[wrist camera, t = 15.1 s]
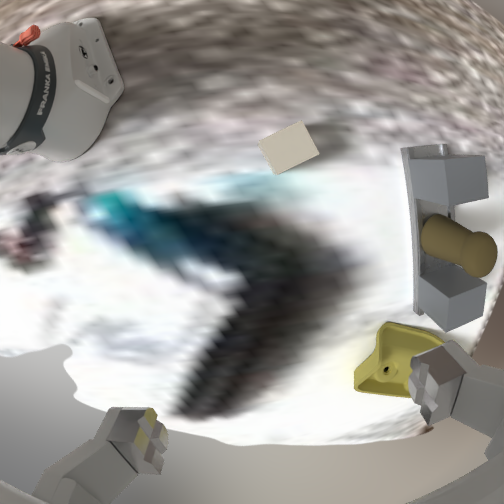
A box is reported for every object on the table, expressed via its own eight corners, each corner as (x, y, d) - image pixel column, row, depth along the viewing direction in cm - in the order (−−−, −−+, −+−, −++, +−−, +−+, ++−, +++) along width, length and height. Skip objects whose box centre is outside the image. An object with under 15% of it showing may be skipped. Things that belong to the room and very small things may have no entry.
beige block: (257, 145, 33) (258, 140, 28) (294, 127, 33) (301, 120, 28) (273, 174, 34) (277, 174, 29) (310, 155, 34) (319, 154, 29)
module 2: (418, 275, 36) (449, 298, 29) (455, 263, 36) (488, 282, 28) (418, 306, 38) (445, 332, 30) (454, 293, 37) (484, 315, 30)
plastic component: (348, 390, 41) (383, 361, 34) (348, 352, 46) (378, 319, 40) (435, 399, 41) (472, 374, 34) (431, 367, 47) (463, 339, 40)
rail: (400, 148, 33) (407, 147, 31) (439, 144, 33) (447, 144, 31) (413, 310, 39) (418, 316, 38) (447, 298, 39) (453, 303, 37)
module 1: (407, 159, 32) (443, 159, 24) (448, 154, 32) (486, 155, 24) (413, 197, 33) (448, 206, 26) (453, 190, 33) (490, 197, 25)
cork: (422, 213, 33) (474, 232, 23) (454, 214, 33) (507, 231, 23) (418, 258, 35) (466, 288, 25) (450, 255, 35) (498, 282, 25)
